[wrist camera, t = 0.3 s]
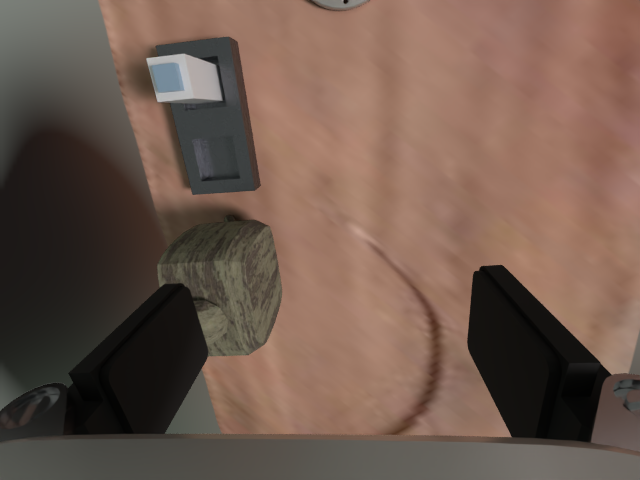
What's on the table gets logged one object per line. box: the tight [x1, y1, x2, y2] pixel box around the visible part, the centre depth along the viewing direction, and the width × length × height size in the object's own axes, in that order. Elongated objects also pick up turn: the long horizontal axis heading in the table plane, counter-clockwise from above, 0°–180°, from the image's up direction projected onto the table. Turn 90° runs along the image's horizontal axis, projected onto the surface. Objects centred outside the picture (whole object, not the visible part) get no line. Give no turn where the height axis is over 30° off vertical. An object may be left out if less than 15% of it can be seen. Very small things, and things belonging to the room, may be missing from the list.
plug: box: [146, 54, 226, 104], centre depth 35 cm, size 4×4×10 cm
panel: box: [156, 37, 261, 195], centre depth 41 cm, size 18×9×3 cm, turn 5°
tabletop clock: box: [157, 215, 282, 356], centre depth 38 cm, size 14×9×25 cm, turn 6°
